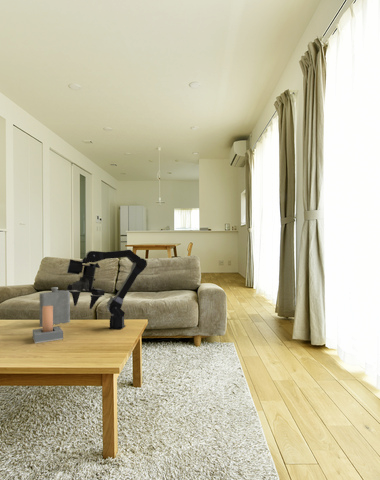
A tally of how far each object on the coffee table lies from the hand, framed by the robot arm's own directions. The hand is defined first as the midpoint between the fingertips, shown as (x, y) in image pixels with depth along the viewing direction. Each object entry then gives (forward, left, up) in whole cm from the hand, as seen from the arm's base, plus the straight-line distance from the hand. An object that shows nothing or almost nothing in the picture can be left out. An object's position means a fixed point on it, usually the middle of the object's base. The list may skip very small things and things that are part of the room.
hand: (82, 307), depth 153 cm
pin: (+11, +12, -12) cm, 20 cm away
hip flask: (+24, -14, -12) cm, 30 cm away
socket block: (+11, +12, -12) cm, 20 cm away
